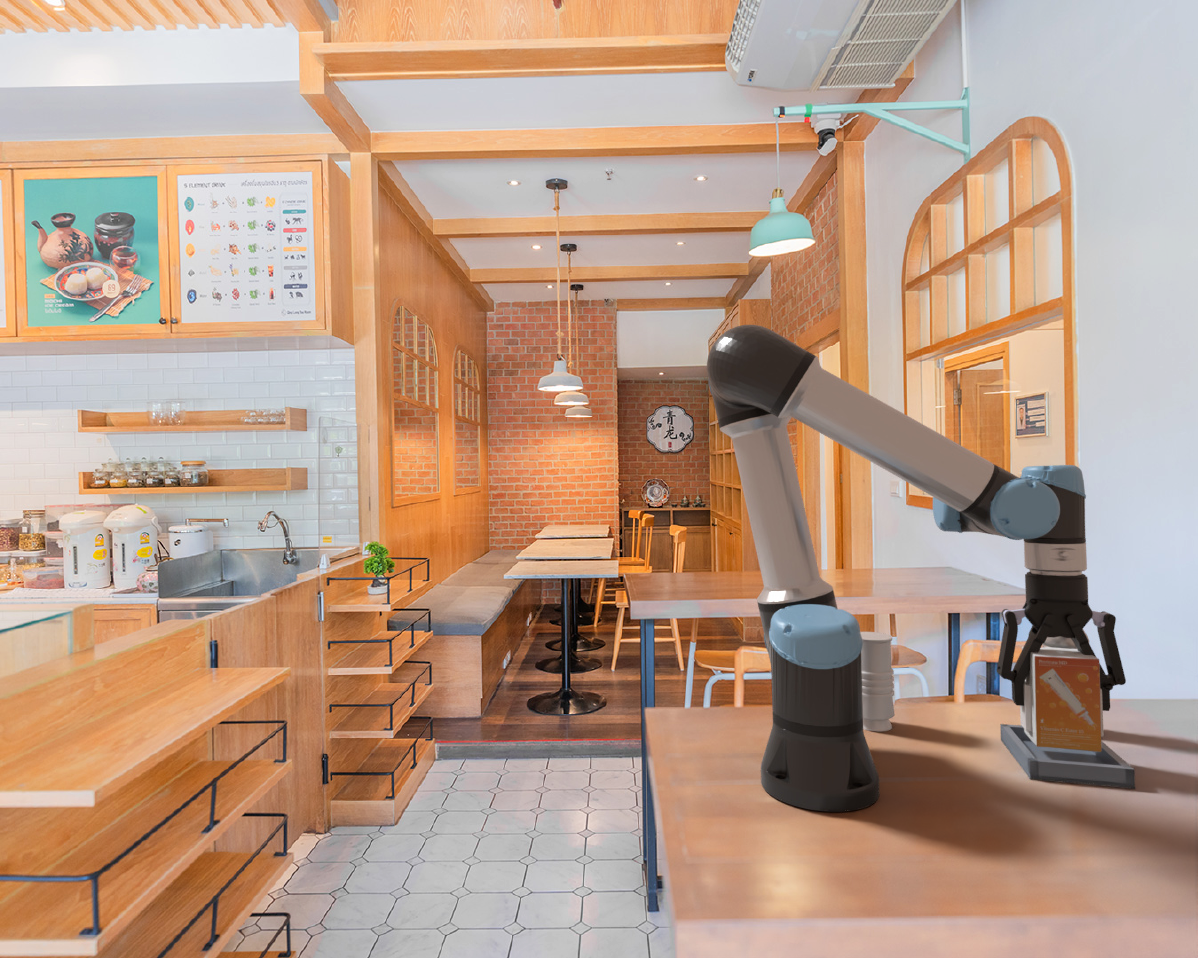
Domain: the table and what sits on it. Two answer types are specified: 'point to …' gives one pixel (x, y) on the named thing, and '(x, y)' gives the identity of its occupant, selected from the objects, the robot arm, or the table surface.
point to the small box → (1065, 699)
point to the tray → (1067, 762)
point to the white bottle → (877, 681)
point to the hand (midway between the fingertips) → (1060, 729)
